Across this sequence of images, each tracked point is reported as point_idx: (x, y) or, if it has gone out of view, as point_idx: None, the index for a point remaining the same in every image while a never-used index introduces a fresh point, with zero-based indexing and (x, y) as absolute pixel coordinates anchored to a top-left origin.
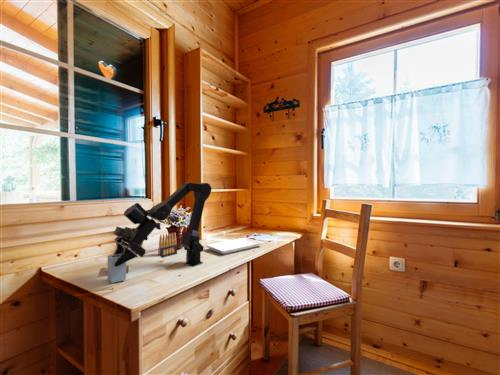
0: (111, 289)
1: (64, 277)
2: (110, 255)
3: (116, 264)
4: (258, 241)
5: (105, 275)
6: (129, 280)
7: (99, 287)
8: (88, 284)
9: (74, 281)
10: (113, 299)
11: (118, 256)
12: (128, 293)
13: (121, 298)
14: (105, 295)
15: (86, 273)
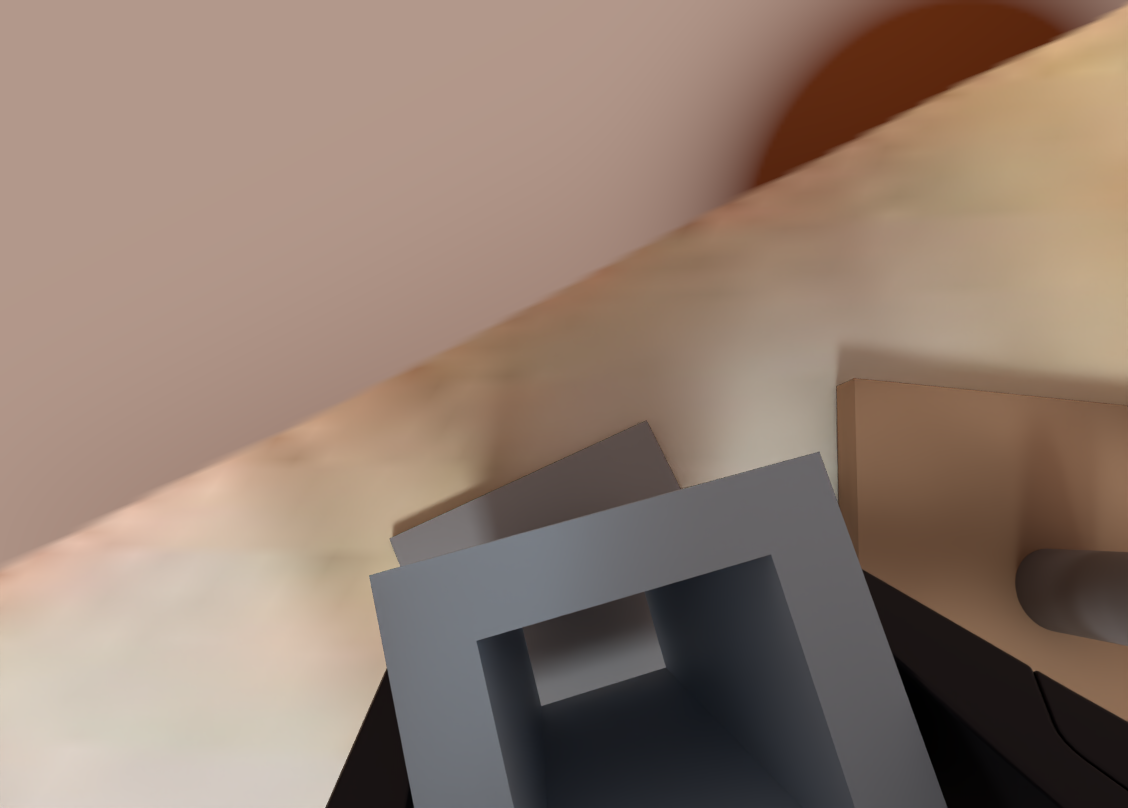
0: (394, 543)
1: (1037, 79)
2: (819, 541)
3: None
4: None
5: (877, 473)
6: None
7: (544, 412)
8: (705, 300)
9: (867, 169)
10: (57, 561)
11: (821, 792)
12: (132, 749)
13: (23, 654)
14: (242, 476)
15: (1111, 268)
